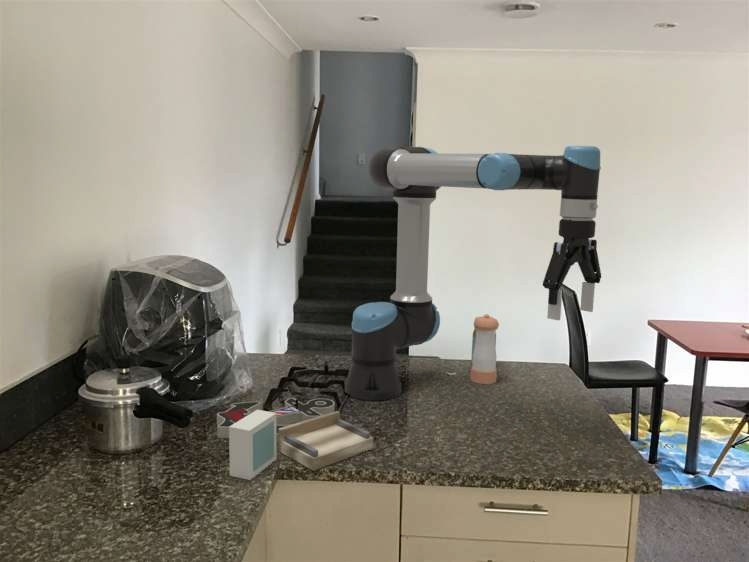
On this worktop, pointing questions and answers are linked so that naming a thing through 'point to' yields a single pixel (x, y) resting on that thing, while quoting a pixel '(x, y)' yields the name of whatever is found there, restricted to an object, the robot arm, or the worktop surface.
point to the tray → (323, 441)
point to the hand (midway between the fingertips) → (570, 315)
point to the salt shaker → (484, 351)
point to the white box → (252, 444)
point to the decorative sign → (282, 415)
